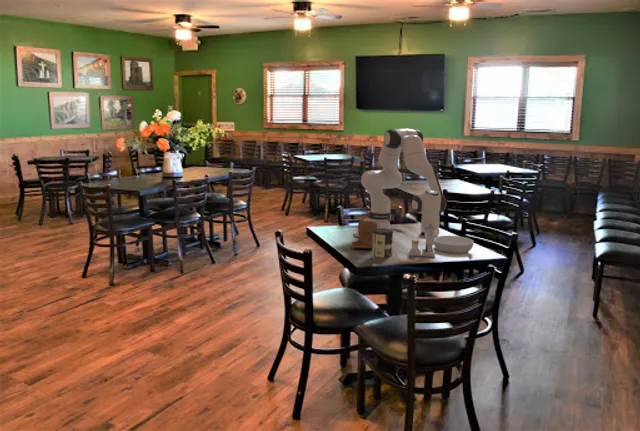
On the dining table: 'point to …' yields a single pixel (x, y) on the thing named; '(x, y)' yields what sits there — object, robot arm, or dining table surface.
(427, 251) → the fuse
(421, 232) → the spread jar
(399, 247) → the dining table surface
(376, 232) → the coffee can
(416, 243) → the fuse
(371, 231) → the wooden napkin holder
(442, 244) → the serving bowl
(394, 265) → the dining table surface
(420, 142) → the robot arm
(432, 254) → the fuse block
